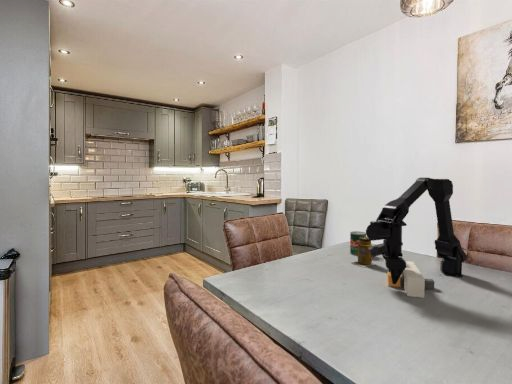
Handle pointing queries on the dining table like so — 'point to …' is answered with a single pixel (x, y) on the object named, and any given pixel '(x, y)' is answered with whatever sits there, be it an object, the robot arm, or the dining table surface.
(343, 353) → the dining table surface
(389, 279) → the orange grey square bar
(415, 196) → the robot arm
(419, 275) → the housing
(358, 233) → the canned tomato
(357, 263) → the condiment
